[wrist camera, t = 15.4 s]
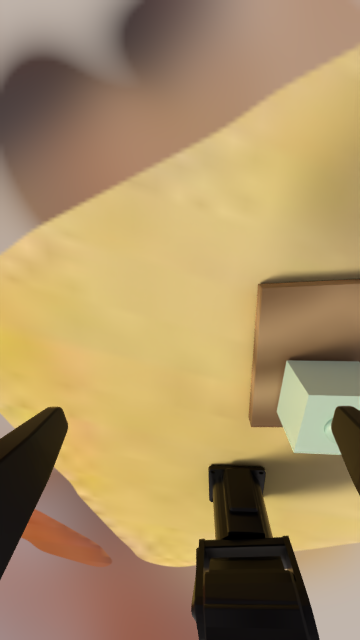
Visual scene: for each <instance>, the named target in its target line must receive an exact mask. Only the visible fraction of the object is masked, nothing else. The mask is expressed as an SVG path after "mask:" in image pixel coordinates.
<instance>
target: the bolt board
mask: <svg viewBox="0 0 360 640" xmlns="http://www.w3.org/2000/svg"><path fill="white" fill-rule="evenodd" d="M287 360H293V361H359V362H360V279H351V280H331V281H310V282H290V283H270V284H258V294H257V308H256V322H255V336H254V350H253V364H252V378H251V392H250V406H249V420H250V424H251V427H283V426H282V423H281V421H280V419H279V416H278V414H277V407H278V402H279V397H280V392H281V387H282V382H283V376H284V371H285V366H286V361H287Z"/></svg>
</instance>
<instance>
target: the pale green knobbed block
mask: <svg viewBox="0 0 360 640" xmlns="http://www.w3.org/2000/svg"><path fill="white" fill-rule="evenodd" d="M338 406H352V407H355V408H356V409H358V410H360V362H359V361H293V360H287V361H286V366H285V371H284V376H283V382H282V387H281V392H280V397H279V402H278V407H277V414H278V416H279V419H280V421H281V423H282V426H283V428H284V431H285V433H286V435H287V438H288V440H289V442H290V445H291V447H292V450H293V452H294V453H310V454H334V455H341V453H340V450H339V448H338V445H337V443H336V441H335V438H334V436H333V434H332V430H331V423H332V419H333V416H334V412H335V409H336V407H338Z"/></svg>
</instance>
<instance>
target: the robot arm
mask: <svg viewBox="0 0 360 640" xmlns="http://www.w3.org/2000/svg"><path fill="white" fill-rule="evenodd" d="M67 430H68V423H67V420H66V417H65V415H64V412H63V409H62V408H61V407H48V408H46V409H45V410H43V411H42V412H40V413H38V414H37V415H35V416H34V417H32V418H31V419H29V420H28V421H26V422H25V423H23V424H22V425H20V426H19V427H17V428H16V429H14V430H13V431H11V432H10V433H8V434H7V435H5V436H4V437H2V438H1V439H0V579H1V577H2V575H3V573H4V571H5V569H6V567H7V565H8V563H9V561H10V559H11V557H12V555H13V553H14V550H15V548H16V546H17V544H18V542H19V540H20V538H21V536H22V534H23V532H24V530H25V528H26V526H27V524H28V521H29V519H30V517H31V515H32V513H33V511H34V509H35V507H36V505H37V503H38V501H39V499H40V497H41V494H42V492H43V490H44V488H45V486H46V484H47V482H48V480H49V477H50V475H51V472H52V470H53V467H54V465H55V462H56V459H57V457H58V454H59V452H60V449H61V446H62V444H63V441H64V438H65V436H66V433H67ZM331 430H332V434H333V436H334V438H335V441H336V443H337V445H338V448H339V450H340V453H341V455H342V457H343V460H344V462H345V464H346V467H347V469H348V471H349V474H350V476H351V478H352V481H353V483H354V485H355V487H356V489H357V491H358V493H359V495H360V410H358V409H356V408H355V407H352V406H338V407H336V409H335V412H334V416H333V419H332V423H331ZM265 474H266V473H265V469H264V468H263V467H245V466H210V467H209V500H210V501H211V502H213V505H214V522H215V538H216V540H205V539H199V547H198V548H197V549H196V578H195V585H194V592H193V598H192V606H191V607H192V608H191V612H192V616H193V618H194V619H195V621H196V623H197V629H198V636H199V640H319V635H318V632H317V627H316V624H315V619H314V615H313V612H312V608H311V605H310V602H309V598H308V595H307V592H306V588H305V586H304V582H303V579H302V576H301V573H300V570H299V567H298V564H297V561H296V558H295V555H294V552H293V549H292V546H291V543H290V540H289V537H288V536H283V537H277V538H273V536H272V532H271V528H270V524H269V520H268V516H267V511H266V507H265V503H264V499H263V490H264V482H265ZM285 569H287V570H285Z"/></svg>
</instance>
